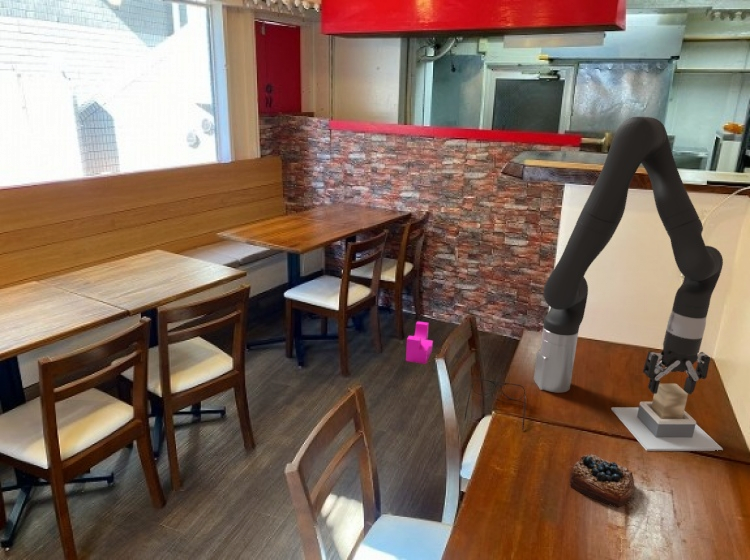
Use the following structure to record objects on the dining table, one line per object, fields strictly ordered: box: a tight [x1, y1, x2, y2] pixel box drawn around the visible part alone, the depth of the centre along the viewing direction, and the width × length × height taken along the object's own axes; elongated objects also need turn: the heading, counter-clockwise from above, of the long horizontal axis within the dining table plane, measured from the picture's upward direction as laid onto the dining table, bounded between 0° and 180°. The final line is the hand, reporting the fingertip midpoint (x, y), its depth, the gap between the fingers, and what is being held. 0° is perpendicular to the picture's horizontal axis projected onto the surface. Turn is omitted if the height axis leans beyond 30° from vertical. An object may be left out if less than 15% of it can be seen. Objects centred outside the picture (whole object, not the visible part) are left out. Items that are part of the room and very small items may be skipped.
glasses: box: [464, 378, 526, 431], centre depth 140 cm, size 14×15×5 cm
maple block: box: [651, 383, 689, 419], centre depth 132 cm, size 5×5×7 cm
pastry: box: [569, 453, 635, 509], centre depth 113 cm, size 11×12×6 cm
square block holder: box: [611, 401, 724, 452], centre depth 134 cm, size 18×18×5 cm
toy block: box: [405, 320, 434, 365], centre depth 172 cm, size 15×6×8 cm, turn 164°
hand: (670, 392), depth 132 cm, fingers open, 8 cm apart
